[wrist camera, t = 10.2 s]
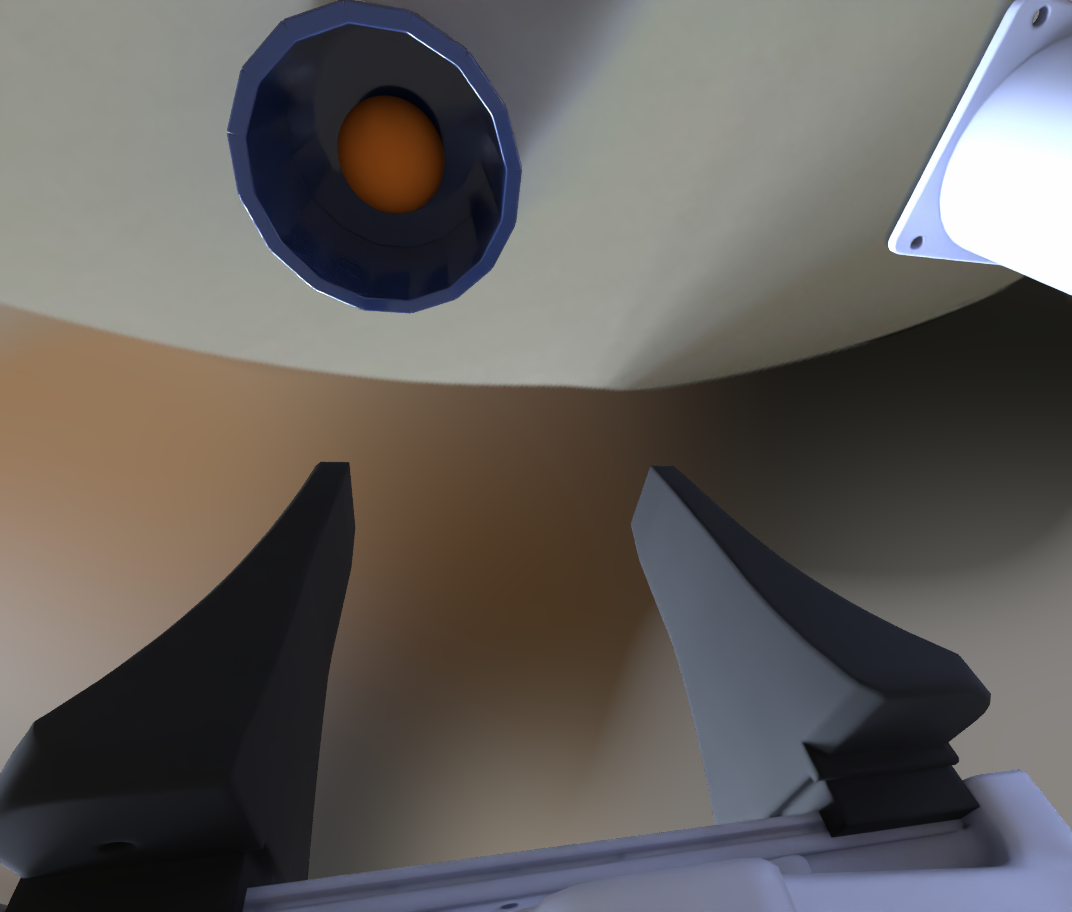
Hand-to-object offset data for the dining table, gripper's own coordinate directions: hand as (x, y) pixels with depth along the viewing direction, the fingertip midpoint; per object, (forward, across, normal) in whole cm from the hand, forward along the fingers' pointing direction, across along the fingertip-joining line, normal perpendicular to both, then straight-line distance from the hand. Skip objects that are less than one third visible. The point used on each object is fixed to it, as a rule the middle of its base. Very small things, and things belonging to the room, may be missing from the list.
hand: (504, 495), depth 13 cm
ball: (+8, +3, -6) cm, 11 cm away
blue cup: (+10, +3, -6) cm, 12 cm away
